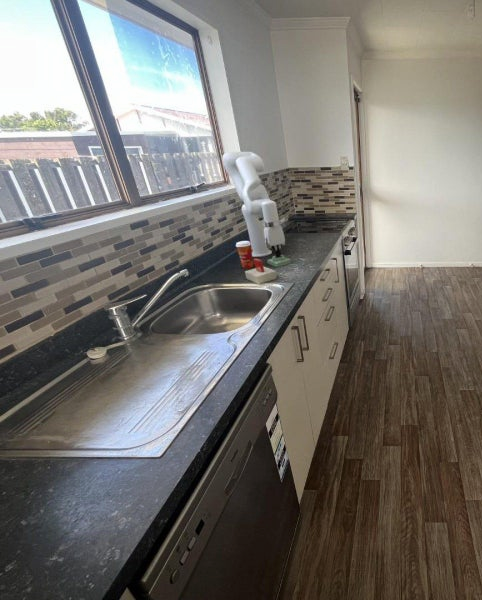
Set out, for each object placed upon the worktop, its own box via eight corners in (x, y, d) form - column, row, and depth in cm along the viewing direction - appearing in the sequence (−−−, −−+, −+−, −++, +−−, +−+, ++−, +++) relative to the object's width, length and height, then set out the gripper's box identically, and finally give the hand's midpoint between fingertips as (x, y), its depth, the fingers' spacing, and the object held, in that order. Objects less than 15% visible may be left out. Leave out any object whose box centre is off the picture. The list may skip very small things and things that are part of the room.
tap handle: (255, 270, 167) (253, 258, 165) (258, 269, 168) (256, 257, 166) (261, 272, 164) (259, 260, 161) (264, 271, 165) (262, 259, 163)
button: (274, 259, 188) (273, 256, 187) (279, 257, 190) (279, 255, 190) (277, 260, 186) (277, 257, 185) (283, 259, 188) (282, 256, 188)
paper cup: (237, 268, 183) (231, 243, 177) (248, 263, 189) (243, 240, 183) (248, 269, 180) (242, 245, 174) (258, 265, 187) (253, 241, 181)
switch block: (267, 263, 189) (266, 257, 187) (281, 259, 195) (280, 253, 194) (277, 267, 183) (275, 260, 182) (291, 263, 189) (290, 256, 188)
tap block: (246, 278, 168) (244, 271, 166) (264, 273, 175) (262, 265, 173) (258, 284, 161) (257, 276, 159) (276, 278, 168) (275, 270, 166)
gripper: (280, 221, 187) (286, 252, 195) (256, 226, 176) (262, 258, 184) (288, 222, 182) (293, 254, 190) (263, 227, 172) (270, 261, 180)
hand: (278, 256), depth 187 cm, fingers closed
